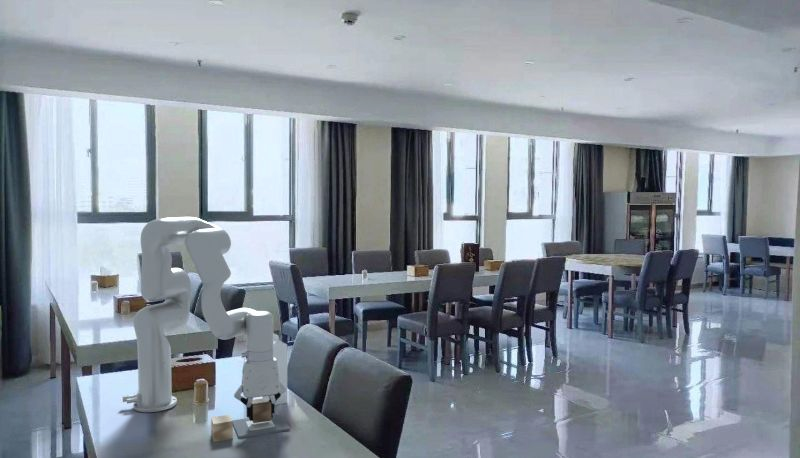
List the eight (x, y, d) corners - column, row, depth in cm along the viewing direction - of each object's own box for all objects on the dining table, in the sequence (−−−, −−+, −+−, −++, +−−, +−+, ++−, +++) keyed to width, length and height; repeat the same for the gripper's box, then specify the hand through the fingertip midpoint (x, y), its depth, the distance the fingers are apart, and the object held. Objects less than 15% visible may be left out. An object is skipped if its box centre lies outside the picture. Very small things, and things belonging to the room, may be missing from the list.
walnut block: (253, 423, 164) (253, 405, 164) (250, 417, 168) (250, 400, 168) (271, 420, 166) (271, 403, 166) (267, 414, 170) (267, 397, 170)
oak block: (213, 442, 157) (213, 423, 157) (211, 435, 161) (211, 417, 161) (232, 439, 159) (232, 421, 159) (230, 432, 164) (229, 414, 163)
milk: (270, 406, 183) (269, 337, 181) (262, 401, 188) (261, 333, 186) (287, 402, 187) (287, 334, 185) (279, 397, 191) (279, 330, 190)
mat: (238, 438, 159) (238, 436, 159) (232, 422, 170) (232, 420, 170) (289, 430, 165) (289, 428, 165) (280, 415, 176) (280, 413, 176)
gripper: (231, 362, 159) (232, 427, 160) (292, 355, 166) (293, 417, 167) (227, 355, 166) (228, 417, 167) (286, 348, 173) (287, 408, 174)
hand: (260, 417), depth 167 cm, fingers closed on walnut block, 5 cm apart
